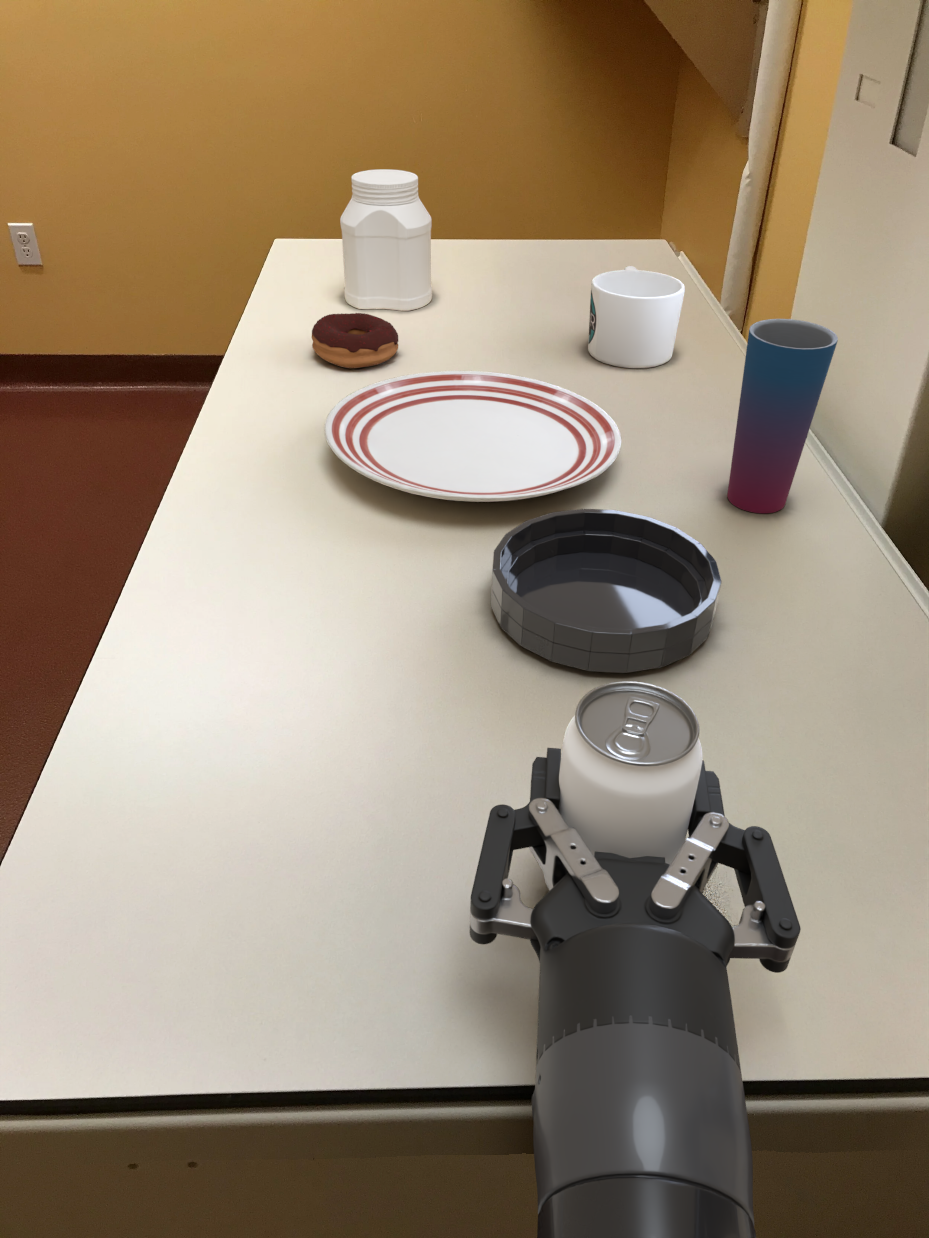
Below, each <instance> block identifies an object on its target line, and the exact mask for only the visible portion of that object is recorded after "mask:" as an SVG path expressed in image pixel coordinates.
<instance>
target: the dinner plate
mask: <svg viewBox="0 0 929 1238" xmlns="http://www.w3.org/2000/svg"><path fill="white" fill-rule="evenodd" d="M324 436H325V437H324V438H325V440H326V442H327V444H328V446H329V448H330V450H331V451H332V452H333V453H334V455H336V457H337V458H338V459H339V460H341V461H342V462H343V463H344V464H345V465H346V466H348V467H349V468H350V469H352V470H354V471H355V472H357V473H359V474H360V475H362V476H364V477H365V478H368V479H370V480H371V481H374V482H377V483H379V484H381V485H384V486H386V487H390V488H392V489H395V490H398V491H402V492H405V493H409V494H412V495H417V496H422V497H427V498H432V499H438V500H439V499H440V500H447V501H455V502H471V503H475V502H477V503H479V502H481V503H483V502H485V503H486V502H487V503H489V502H490V503H491V502H509V501H518V500H524V499H525V500H526V499H531V498H537V497H542V496H546V495H550V494H553V493H557V492H560V491H563V490H564V491H565V490H567V489H571V488H574V487H577V486H579V485H582V484H585V483H586V482H589V481H590V480H593V479H595V478H596V477H599V476H600V475H602V474H603V473H604V472H605V471H607V469H609V468H610V466H611V465H612V464H613V463H614V462H615V461H616V459H617V457H618V456H619V454H620V452H621V447H622V435H621V431H620V429H619V427H618V425H617V423H616V422H615V420H614V418H612V417H611V416H610V414H609V413H607V412H606V411H605V410H604V409H603V408H602V407H601V406H599V405H597V404H596V403H595V402H593V401H592V400H590V399H588V398H586V397H584V396H582V395H580V394H578V393H576V392H574V391H572V390H569V389H568V388H564V387H562V386H558V385H556V384H553V383H549V382H546V381H542V380H540V379H535V378H531V377H527V376H520V375H515V374H509V373H503V372H494V371H492V372H491V371H481V370H480V371H479V370H444V371H443V370H442V371H441V370H439V371H428V372H427V371H426V372H419V373H411V374H406V375H400V376H395V377H391V378H388V379H383V380H380V381H377V382H374V383H371V384H368V385H366V386H363V387H361V388H359V389H356V390H355V391H353V392H352V393H349V394H348V395H346V396H344V397H343V398H341V400H339V401H338V402H337V403H336V404H335V405H334V406H333V407H332V408H331V410H330V411H329V413H328V414H327V417H326V419H325V423H324Z"/></svg>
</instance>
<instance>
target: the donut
mask: <svg viewBox="0 0 929 1238" xmlns="http://www.w3.org/2000/svg"><path fill="white" fill-rule="evenodd" d="M311 340H312V345H311V348H312V349H313V351H314V353H315V354H316V355H317V356H319V357H320V358H321V359H323V360H324V361H326V362H328V363H330V364H332V365H335V366H338V367H340V368H345V369H361V368H366V367H367V368H368V367H373V366H377V365H380V364H383V363H385V362H387V361H389V360H390V359H391V358H392V357H394V356H395V355H396V353H397V352H398V350H399V333H398V332H397V330H396V328H395V327H394V325H393V324H392V323H390V322H389V321H387V320H385V319H383V318H381V317H378V316H375V315H372V314H369V313H363V312H355V313H354V312H353V313H332V314H327V315H324V316H322V317H321V318H320V319H318V320H317V321H316V322H315V323H314V325H313V327H312V328H311Z"/></svg>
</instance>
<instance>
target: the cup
mask: <svg viewBox="0 0 929 1238" xmlns="http://www.w3.org/2000/svg"><path fill="white" fill-rule="evenodd" d="M838 341H839V338H838V335H837V334H836V332H834V331H833V330H831V329H830V328H828V327H826V326H823V325H821V324H818V323H814V322H811V321H805V320H800V319H792V318H769V319H768V318H767V319H763V320H759V321H756V322H754V323H753V324H751V325H750V326H749V329H748V336H747V344H746V350H745V357H744V367H743V372H742V373H743V374H742V380H741V381H742V382H741V388H740V396H739V404H738V410H737V411H738V412H737V418H736V427H735V434H734V443H733V449H732V456H731V463H730V472H729V480H728V487H727V494H726V496H727V499H728V501H729V503H731V504H732V505H733V506H735V507H736V508H738V509H740V510H743V511H744V512H745V511H746V512H749V513H755V514H771V513H776V512H779V511H781V510H783V509H784V507H785V506H786V503H787V500H788V497H789V494H790V492H791V488H792V485H793V482H794V478H795V475H796V472H797V469H798V467H799V463H800V460H801V457H802V454H803V450H804V448H805V444H806V441H807V437H808V435H809V431H810V429H811V425H812V422H813V419H814V416H815V413H816V410H817V407H818V403H819V401H820V397H821V394H822V391H823V388H824V385H825V382H826V379H827V376H828V373H829V369H830V366H831V363H832V360H833V357H834V355H835V354H834V353H835V351H836V348H837V344H838Z"/></svg>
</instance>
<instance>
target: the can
mask: <svg viewBox="0 0 929 1238" xmlns="http://www.w3.org/2000/svg"><path fill="white" fill-rule="evenodd" d="M563 735H564V736H563V741H562V747H561V763H560V772H559V786H560V804H559V813H560V815H561V816H562V818H563V819H564V821H565V822H566V824H567V825H568V827H569V828H573V827H574V828H575V829H576V830H577V831H578V833H579V834H580V836H581V837H582V839H583V840H584V842H585V843H586V845H587V846H588V848H589V849H590V851H591V853H592V854H593V856H594V853H595V852H607V853H614V854H617V855H621V856H624V857H628V858H636V857H644V856H653V857H665V863H667V864H671V862H672V861H673V859H674V858H675V856H676V855H677V853H678V851H679V850H680V848H681V847H682V845H683V843H684V842H685V840H686V839H687V835H688V826H689V822H690V817H691V813H692V809H693V804H694V800H695V795H696V791H697V786H698V781H699V777H700V772H701V766H702V760H703V747H702V744H701V740H700V738H699V737H700V724H699V720H698V718H697V715H696V713H695V711H694V710H693V708H692V707H691V706H690V705H689V704H688V703H687V702H686V701H685V700H684V699H683V698H681V696H678V695H677V694H675V693H674V692H673V691H670V690H668V689H666V688H664V687H662V686H658V685H656V684H652V683H648V682H643V681H634V680H621V681H613V682H608V683H604V684H601V685H599V686H596V687H595V688H593V689H591V690H589V691H588V692H586V693H585V694H584V696H582V697H581V698H580V700H579V702H578V703H577V705H576V708H575V712H574V715H573V716H572V718H571V719H570V721H569V722H568V724H567V727H566V728H565V731H564V734H563Z"/></svg>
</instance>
